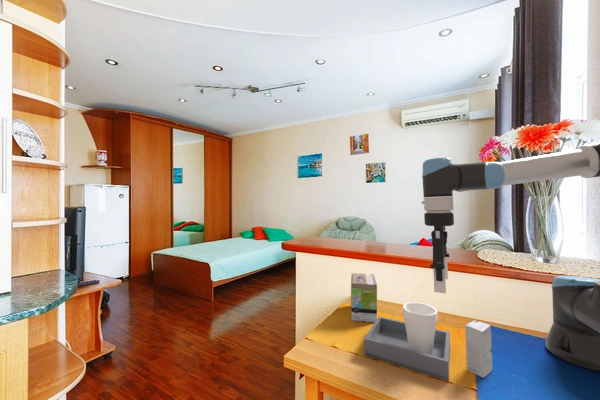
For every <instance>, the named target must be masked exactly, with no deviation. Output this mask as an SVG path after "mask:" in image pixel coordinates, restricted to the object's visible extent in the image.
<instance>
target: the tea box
mask: <svg viewBox="0 0 600 400" xmlns="http://www.w3.org/2000/svg"><path fill="white" fill-rule="evenodd" d="M350 275H351V278H350V279H351V280H350V312H351V313H350V314H351V317H350V318H351V321H354V322H355V321H356V322H363V321H365V322H366V323H375V321H376V320H377V318H378V285H377V280H376V278H375V274H373V273H356V272H354V273H353V272H352V273H351V274H350Z"/></svg>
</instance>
